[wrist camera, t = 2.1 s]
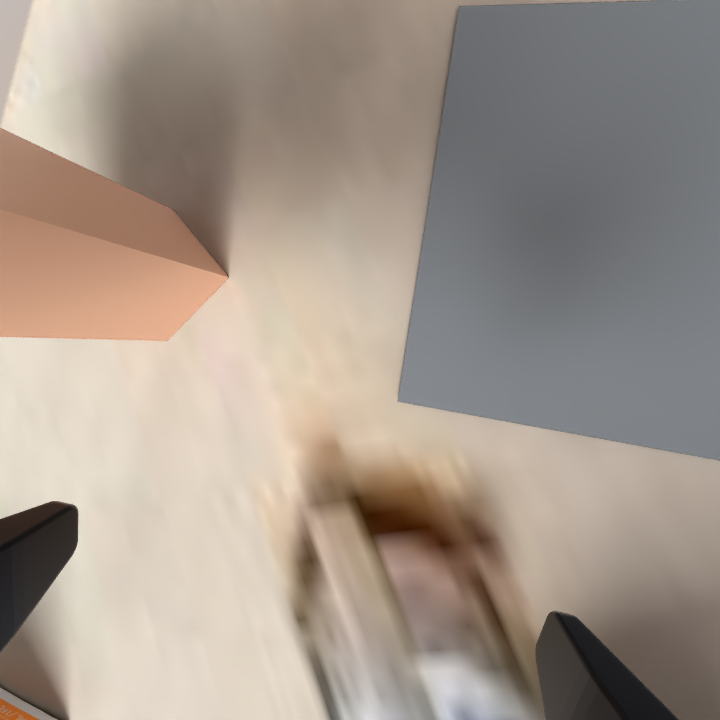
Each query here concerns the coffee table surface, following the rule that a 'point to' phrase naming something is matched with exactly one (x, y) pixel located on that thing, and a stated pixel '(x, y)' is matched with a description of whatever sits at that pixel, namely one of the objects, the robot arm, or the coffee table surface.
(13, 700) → the skincare box
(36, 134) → the coffee table surface
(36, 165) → the block
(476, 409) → the mat
